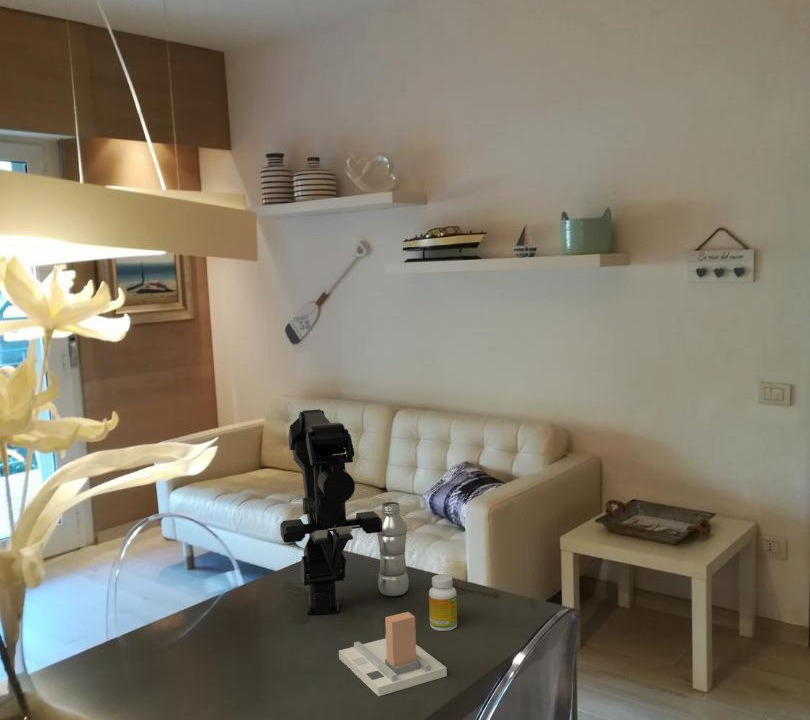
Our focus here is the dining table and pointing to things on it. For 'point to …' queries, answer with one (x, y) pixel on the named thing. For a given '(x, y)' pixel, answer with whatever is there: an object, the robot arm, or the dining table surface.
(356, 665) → the switch board
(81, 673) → the dining table surface
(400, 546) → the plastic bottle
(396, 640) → the slide tab
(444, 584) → the supplement bottle
